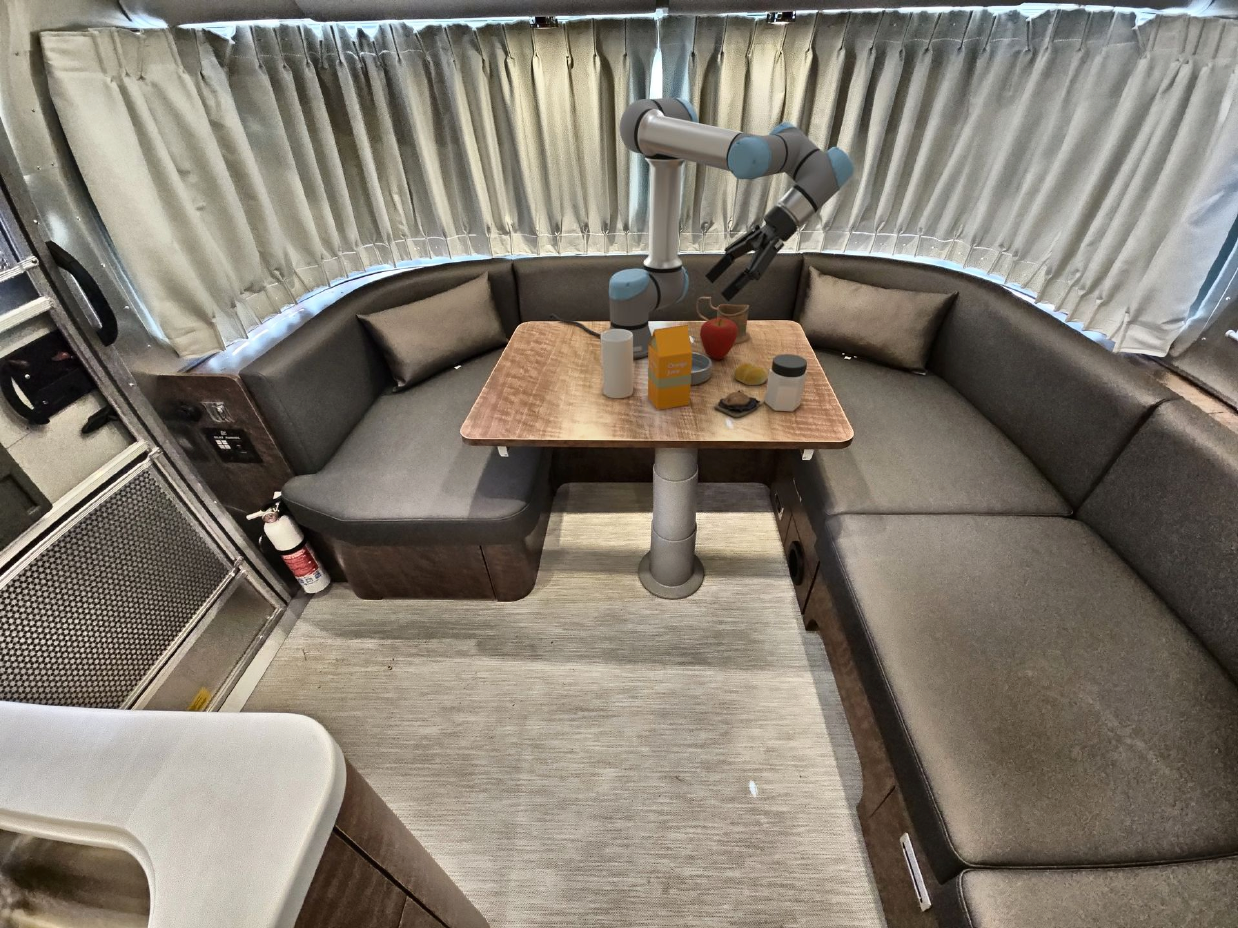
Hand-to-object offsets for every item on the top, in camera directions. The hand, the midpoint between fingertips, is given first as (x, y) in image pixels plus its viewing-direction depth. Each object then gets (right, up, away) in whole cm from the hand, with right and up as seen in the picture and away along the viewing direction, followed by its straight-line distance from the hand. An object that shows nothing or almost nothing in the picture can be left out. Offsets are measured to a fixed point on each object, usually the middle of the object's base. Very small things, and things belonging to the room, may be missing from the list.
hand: (715, 288), depth 126 cm
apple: (+7, -10, +35) cm, 37 cm away
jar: (+19, -26, +11) cm, 34 cm away
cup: (-23, -22, +19) cm, 37 cm away
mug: (+11, 0, +49) cm, 50 cm away
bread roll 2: (+7, -27, +10) cm, 30 cm away
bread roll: (+14, -18, +23) cm, 32 cm away
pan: (-4, -16, +26) cm, 31 cm away
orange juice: (-10, -25, +14) cm, 30 cm away
